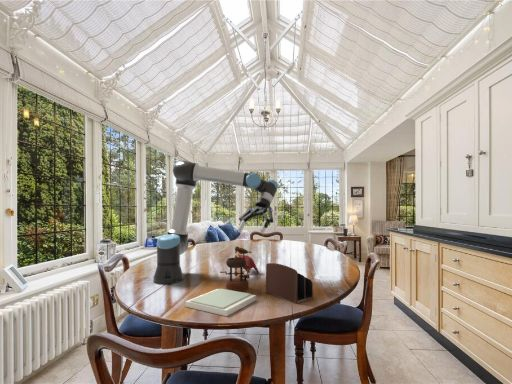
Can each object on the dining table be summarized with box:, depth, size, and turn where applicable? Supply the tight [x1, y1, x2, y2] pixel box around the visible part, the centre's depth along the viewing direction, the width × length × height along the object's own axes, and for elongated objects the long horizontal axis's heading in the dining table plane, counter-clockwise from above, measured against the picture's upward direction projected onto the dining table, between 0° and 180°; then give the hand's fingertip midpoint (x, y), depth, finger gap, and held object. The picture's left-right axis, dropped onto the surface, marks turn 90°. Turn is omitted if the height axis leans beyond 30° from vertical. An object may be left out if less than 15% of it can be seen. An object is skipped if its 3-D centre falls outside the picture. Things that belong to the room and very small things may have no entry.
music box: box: [219, 245, 253, 292], centre depth 140 cm, size 15×11×20 cm
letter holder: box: [265, 262, 314, 304], centre depth 129 cm, size 10×20×14 cm, turn 37°
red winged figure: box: [237, 253, 260, 274], centre depth 171 cm, size 28×9×15 cm
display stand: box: [184, 288, 257, 317], centre depth 119 cm, size 20×20×2 cm
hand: (250, 231), depth 151 cm, fingers open, 13 cm apart
